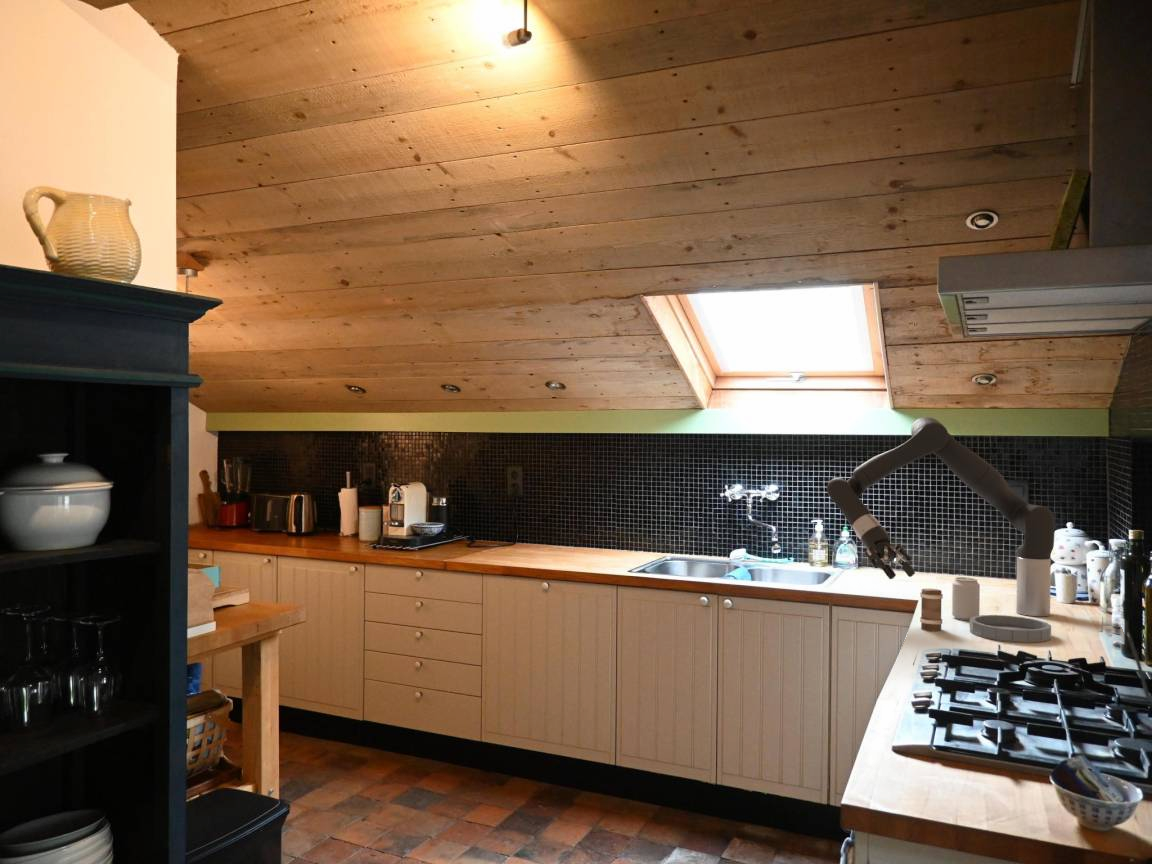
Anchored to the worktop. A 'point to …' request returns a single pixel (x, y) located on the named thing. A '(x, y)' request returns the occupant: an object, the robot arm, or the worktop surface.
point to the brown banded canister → (931, 609)
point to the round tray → (1010, 628)
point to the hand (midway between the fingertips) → (902, 576)
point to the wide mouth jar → (965, 598)
